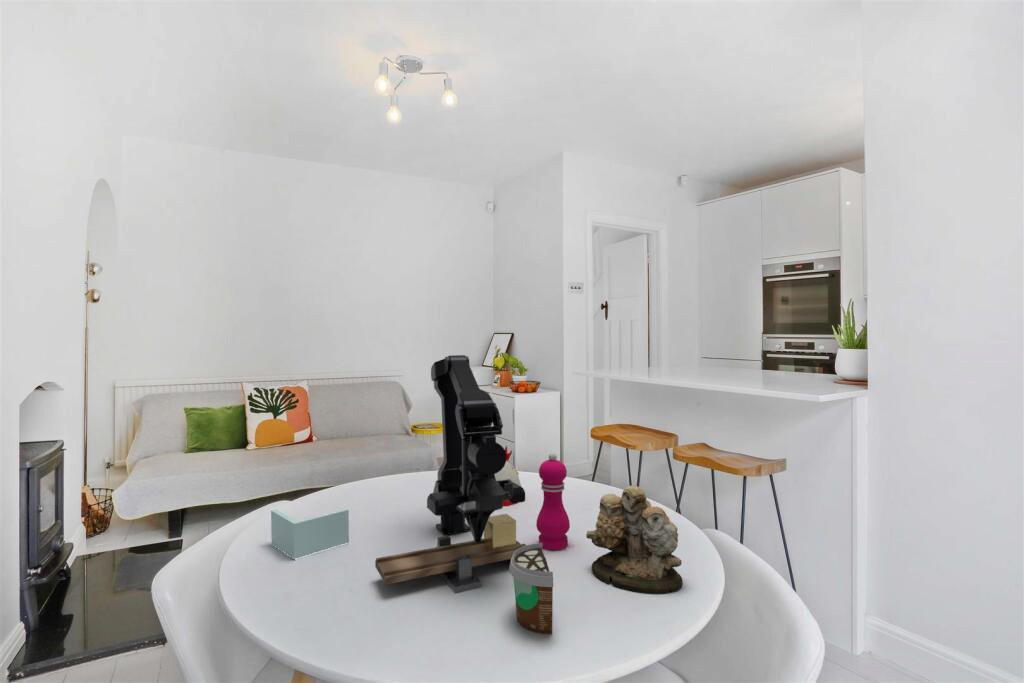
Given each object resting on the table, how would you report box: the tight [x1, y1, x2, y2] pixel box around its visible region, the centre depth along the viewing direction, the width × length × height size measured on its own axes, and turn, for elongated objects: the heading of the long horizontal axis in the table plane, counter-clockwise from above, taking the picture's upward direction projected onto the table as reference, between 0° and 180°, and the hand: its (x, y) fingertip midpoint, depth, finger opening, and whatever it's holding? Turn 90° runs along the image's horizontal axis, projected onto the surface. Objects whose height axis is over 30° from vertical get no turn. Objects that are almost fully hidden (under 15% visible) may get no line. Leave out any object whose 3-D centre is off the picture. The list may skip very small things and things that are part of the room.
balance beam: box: [374, 538, 527, 585], centre depth 102 cm, size 28×8×2 cm, turn 117°
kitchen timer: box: [495, 445, 522, 507], centre depth 148 cm, size 14×14×15 cm
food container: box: [508, 542, 554, 635], centre depth 86 cm, size 12×6×10 cm, turn 5°
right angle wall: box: [270, 508, 350, 559], centre depth 117 cm, size 12×12×8 cm
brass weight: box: [483, 513, 517, 550], centre depth 106 cm, size 5×4×6 cm
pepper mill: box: [535, 452, 571, 551], centre depth 116 cm, size 7×7×20 cm
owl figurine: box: [585, 484, 684, 595], centre depth 100 cm, size 18×12×17 cm, turn 63°
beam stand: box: [436, 535, 511, 594], centre depth 105 cm, size 16×15×5 cm
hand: (477, 541), depth 105 cm, fingers closed
